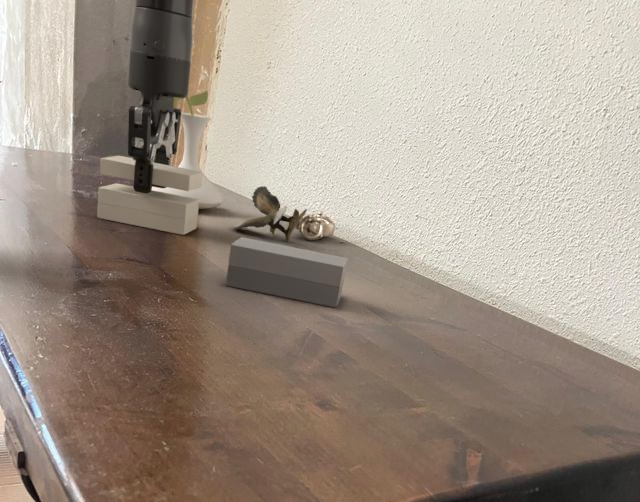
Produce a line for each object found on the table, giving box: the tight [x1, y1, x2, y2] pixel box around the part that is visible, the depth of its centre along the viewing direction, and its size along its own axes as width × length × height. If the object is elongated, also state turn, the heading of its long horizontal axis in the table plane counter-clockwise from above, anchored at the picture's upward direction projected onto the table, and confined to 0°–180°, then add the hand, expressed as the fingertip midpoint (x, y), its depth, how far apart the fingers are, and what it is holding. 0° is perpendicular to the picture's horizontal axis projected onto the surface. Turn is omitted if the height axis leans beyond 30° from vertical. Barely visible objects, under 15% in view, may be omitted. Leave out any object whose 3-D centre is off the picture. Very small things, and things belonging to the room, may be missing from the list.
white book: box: [99, 155, 204, 191], centre depth 100 cm, size 12×6×2 cm, turn 83°
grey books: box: [225, 236, 349, 309], centre depth 80 cm, size 12×5×4 cm, turn 83°
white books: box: [96, 182, 199, 236], centre depth 101 cm, size 12×6×4 cm, turn 83°
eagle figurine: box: [233, 185, 308, 243], centre depth 108 cm, size 8×7×9 cm
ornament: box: [294, 211, 336, 241], centre depth 113 cm, size 8×7×4 cm
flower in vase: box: [152, 39, 223, 210], centre depth 115 cm, size 13×11×25 cm
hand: (150, 189), depth 100 cm, fingers closed on white book, 6 cm apart
